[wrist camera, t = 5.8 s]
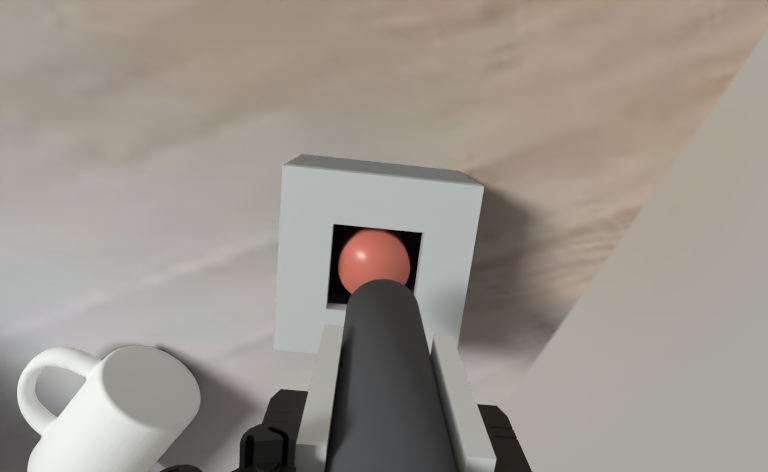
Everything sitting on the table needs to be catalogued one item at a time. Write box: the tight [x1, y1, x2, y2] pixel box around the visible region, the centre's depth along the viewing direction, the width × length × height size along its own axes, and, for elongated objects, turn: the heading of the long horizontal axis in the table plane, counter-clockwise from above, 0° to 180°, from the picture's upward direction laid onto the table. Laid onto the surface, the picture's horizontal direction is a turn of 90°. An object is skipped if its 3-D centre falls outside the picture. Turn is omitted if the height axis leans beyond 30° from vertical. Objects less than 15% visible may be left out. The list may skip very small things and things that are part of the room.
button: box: [338, 226, 410, 294], centre depth 30 cm, size 5×5×3 cm
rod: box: [325, 279, 458, 472], centre depth 15 cm, size 4×4×15 cm
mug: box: [17, 346, 201, 472], centre depth 35 cm, size 12×10×8 cm
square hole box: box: [273, 154, 484, 354], centre depth 32 cm, size 12×12×8 cm
